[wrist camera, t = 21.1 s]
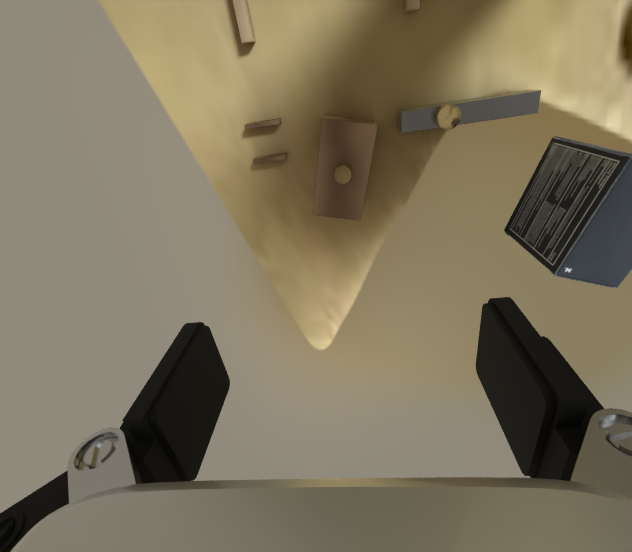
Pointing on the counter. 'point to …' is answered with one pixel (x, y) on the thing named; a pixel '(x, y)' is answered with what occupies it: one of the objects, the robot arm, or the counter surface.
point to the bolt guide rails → (246, 25)
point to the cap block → (343, 166)
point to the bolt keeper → (271, 157)
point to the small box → (578, 213)
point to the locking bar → (469, 111)
